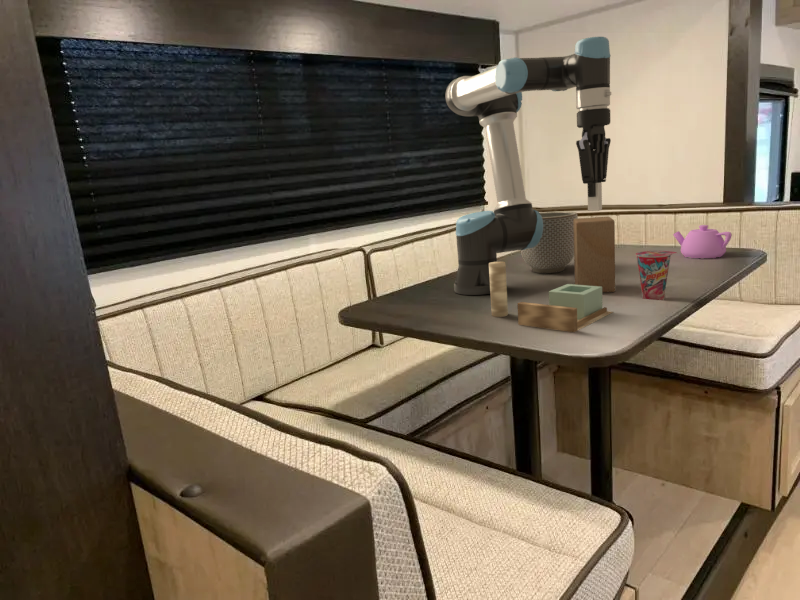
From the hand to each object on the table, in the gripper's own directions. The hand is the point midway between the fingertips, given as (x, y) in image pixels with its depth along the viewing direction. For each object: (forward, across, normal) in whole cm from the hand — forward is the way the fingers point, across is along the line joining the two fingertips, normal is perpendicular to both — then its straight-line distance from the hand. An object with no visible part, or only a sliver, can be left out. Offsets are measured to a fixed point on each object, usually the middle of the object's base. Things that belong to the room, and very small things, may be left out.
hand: (594, 210), depth 144 cm
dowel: (+24, -19, +16) cm, 35 cm away
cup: (+25, +14, -9) cm, 30 cm away
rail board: (+24, -15, 0) cm, 29 cm away
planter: (+25, +40, +37) cm, 60 cm away
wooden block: (+25, +19, +10) cm, 33 cm away
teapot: (+25, +79, +1) cm, 83 cm away
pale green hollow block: (+23, -10, 0) cm, 26 cm away
